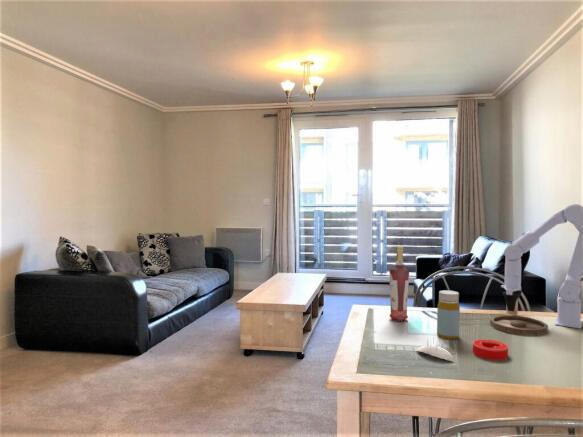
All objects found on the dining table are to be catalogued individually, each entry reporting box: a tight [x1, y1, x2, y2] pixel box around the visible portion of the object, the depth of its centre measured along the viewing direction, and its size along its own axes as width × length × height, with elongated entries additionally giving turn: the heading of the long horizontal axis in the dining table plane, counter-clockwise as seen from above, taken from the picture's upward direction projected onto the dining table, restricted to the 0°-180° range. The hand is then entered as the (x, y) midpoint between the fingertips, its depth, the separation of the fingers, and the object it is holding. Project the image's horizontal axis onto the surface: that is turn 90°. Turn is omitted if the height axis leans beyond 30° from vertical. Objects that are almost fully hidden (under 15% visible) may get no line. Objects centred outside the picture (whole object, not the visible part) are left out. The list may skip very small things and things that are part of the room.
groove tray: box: [489, 314, 549, 336], centre depth 160 cm, size 18×18×2 cm
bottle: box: [436, 289, 461, 340], centre depth 149 cm, size 7×7×15 cm
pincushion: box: [416, 337, 454, 363], centre depth 131 cm, size 12×6×6 cm, turn 40°
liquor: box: [389, 245, 410, 322], centre depth 168 cm, size 7×7×28 cm
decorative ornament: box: [472, 339, 509, 361], centre depth 133 cm, size 10×10×3 cm
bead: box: [505, 298, 519, 316], centre depth 174 cm, size 4×4×6 cm
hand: (511, 309), depth 174 cm, fingers closed on bead, 4 cm apart
